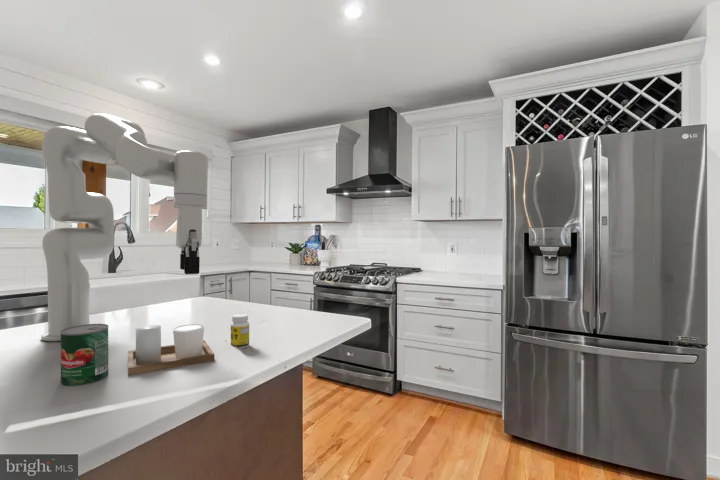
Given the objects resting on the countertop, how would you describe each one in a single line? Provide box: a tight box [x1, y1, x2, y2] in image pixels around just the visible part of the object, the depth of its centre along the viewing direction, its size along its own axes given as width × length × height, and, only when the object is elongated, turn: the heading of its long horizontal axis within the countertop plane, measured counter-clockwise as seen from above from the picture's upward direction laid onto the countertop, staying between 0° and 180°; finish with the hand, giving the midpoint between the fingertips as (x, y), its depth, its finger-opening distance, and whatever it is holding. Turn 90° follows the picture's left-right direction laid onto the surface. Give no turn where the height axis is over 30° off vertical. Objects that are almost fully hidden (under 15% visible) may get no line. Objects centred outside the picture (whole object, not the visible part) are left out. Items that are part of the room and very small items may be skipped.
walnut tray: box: [127, 339, 215, 377], centre depth 87 cm, size 13×17×2 cm
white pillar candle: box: [135, 324, 162, 365], centre depth 85 cm, size 5×5×8 cm
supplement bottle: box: [230, 313, 250, 350], centre depth 99 cm, size 5×5×8 cm
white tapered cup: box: [172, 323, 205, 359], centre depth 89 cm, size 7×7×7 cm
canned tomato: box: [60, 323, 110, 387], centre depth 75 cm, size 8×8×11 cm
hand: (189, 271), depth 92 cm, fingers open, 9 cm apart
